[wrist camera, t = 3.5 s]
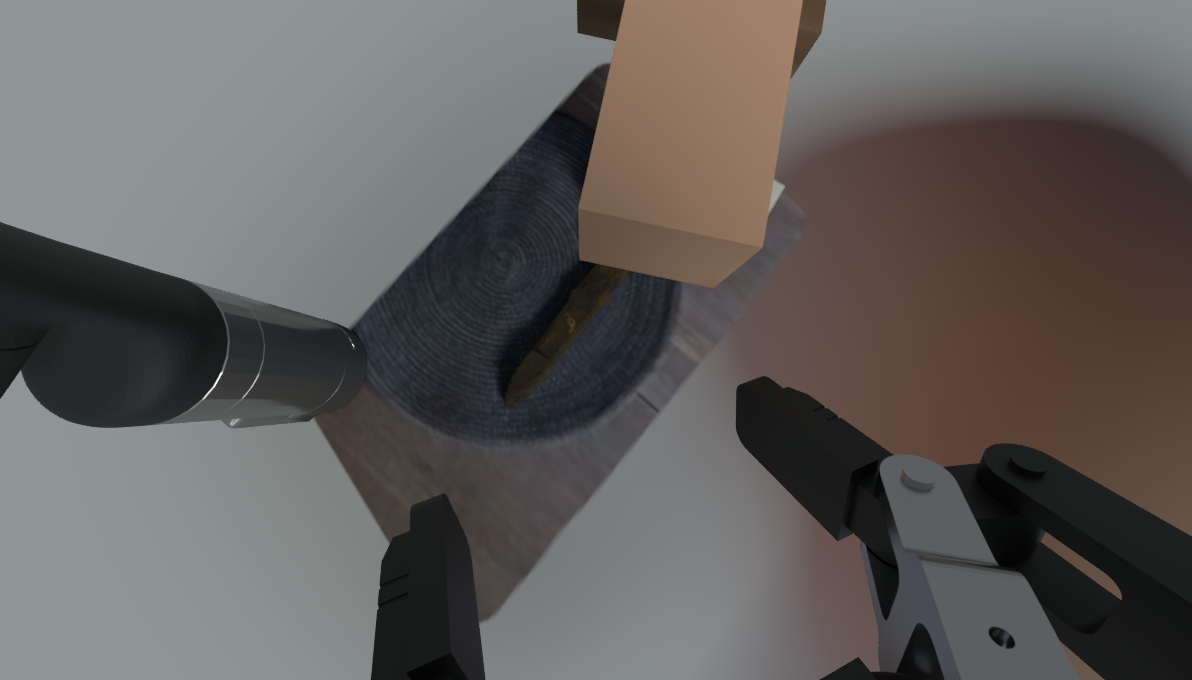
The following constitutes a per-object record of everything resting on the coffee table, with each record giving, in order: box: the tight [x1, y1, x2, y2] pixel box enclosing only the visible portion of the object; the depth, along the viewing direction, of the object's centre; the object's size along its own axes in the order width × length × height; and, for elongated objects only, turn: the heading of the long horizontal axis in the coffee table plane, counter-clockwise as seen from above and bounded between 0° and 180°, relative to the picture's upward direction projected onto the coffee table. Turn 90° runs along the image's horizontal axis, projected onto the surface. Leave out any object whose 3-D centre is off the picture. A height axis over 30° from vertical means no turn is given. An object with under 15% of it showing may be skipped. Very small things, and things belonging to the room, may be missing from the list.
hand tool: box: [504, 264, 634, 408], centre depth 43 cm, size 19×4×5 cm, turn 141°
